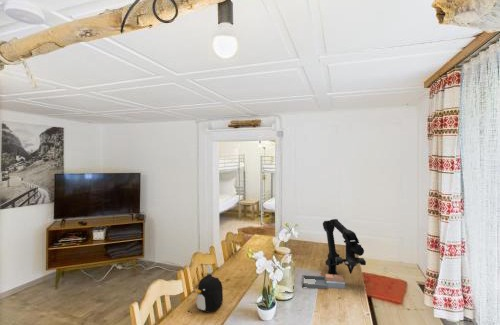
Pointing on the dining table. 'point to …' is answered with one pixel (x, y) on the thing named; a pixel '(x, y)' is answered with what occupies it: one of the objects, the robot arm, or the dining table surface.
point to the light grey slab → (335, 284)
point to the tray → (318, 284)
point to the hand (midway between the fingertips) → (350, 273)
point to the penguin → (209, 293)
